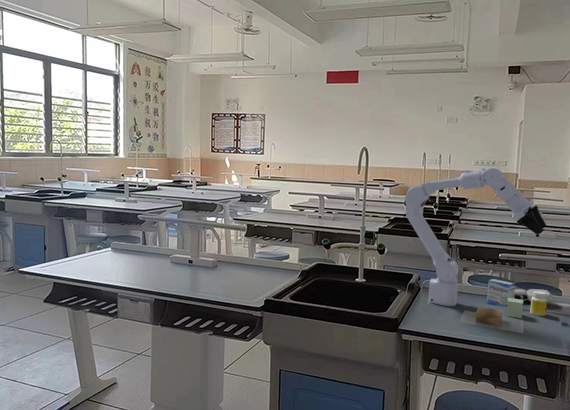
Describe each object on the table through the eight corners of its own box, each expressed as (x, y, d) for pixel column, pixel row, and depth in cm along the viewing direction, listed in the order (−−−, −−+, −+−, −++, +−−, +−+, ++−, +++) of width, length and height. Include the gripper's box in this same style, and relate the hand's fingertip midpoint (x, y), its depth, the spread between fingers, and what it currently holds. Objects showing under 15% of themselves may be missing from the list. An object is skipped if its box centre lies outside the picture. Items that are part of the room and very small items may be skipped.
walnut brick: (475, 321, 154) (476, 312, 153) (477, 315, 160) (478, 306, 159) (499, 325, 150) (500, 316, 150) (501, 319, 157) (502, 310, 156)
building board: (458, 325, 153) (458, 322, 152) (464, 313, 165) (464, 310, 165) (523, 336, 144) (523, 333, 144) (523, 323, 157) (524, 320, 157)
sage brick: (506, 319, 161) (507, 301, 160) (506, 315, 165) (508, 297, 164) (521, 321, 159) (522, 303, 158) (521, 317, 163) (523, 300, 162)
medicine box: (486, 303, 178) (488, 280, 177) (492, 301, 181) (493, 278, 180) (508, 309, 172) (510, 284, 171) (513, 306, 175) (515, 282, 174)
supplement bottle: (547, 320, 161) (550, 294, 160) (532, 318, 162) (534, 293, 161) (543, 315, 166) (545, 291, 165) (528, 314, 167) (530, 289, 166)
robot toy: (507, 306, 179) (554, 309, 174) (507, 293, 179) (554, 296, 174) (505, 297, 191) (549, 300, 185) (505, 286, 190) (549, 288, 185)
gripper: (518, 193, 153) (550, 227, 150) (526, 187, 165) (555, 218, 162) (500, 207, 157) (530, 241, 154) (508, 200, 169) (537, 231, 165)
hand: (542, 230), depth 158 cm, fingers open, 7 cm apart
